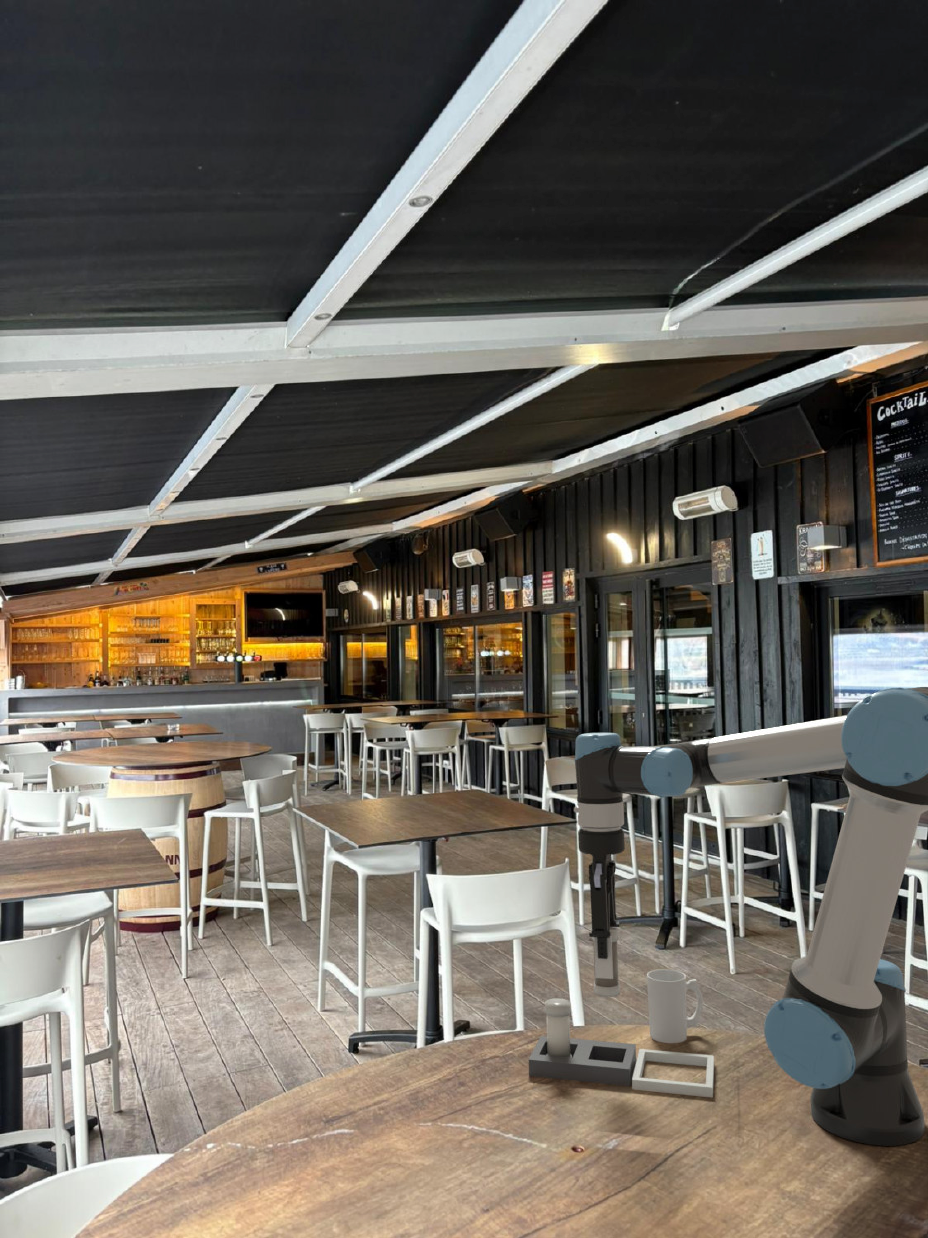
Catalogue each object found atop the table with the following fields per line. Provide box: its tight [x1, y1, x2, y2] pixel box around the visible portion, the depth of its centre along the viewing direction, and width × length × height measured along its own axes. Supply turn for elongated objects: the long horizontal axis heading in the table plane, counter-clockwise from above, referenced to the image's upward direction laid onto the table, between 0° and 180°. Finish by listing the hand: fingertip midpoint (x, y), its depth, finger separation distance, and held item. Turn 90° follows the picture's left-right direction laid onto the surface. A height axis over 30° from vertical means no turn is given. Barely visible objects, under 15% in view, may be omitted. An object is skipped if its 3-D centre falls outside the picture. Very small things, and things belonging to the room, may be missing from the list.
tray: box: [631, 1048, 715, 1098], centre depth 146 cm, size 12×12×3 cm
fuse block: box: [528, 1035, 637, 1087], centre depth 150 cm, size 16×10×4 cm, turn 74°
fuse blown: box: [591, 927, 621, 998], centre depth 150 cm, size 4×4×10 cm
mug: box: [646, 968, 704, 1044], centre depth 163 cm, size 10×7×12 cm, turn 99°
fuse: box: [544, 997, 572, 1058], centre depth 151 cm, size 4×4×10 cm
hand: (606, 972), depth 150 cm, fingers closed on fuse blown, 4 cm apart
